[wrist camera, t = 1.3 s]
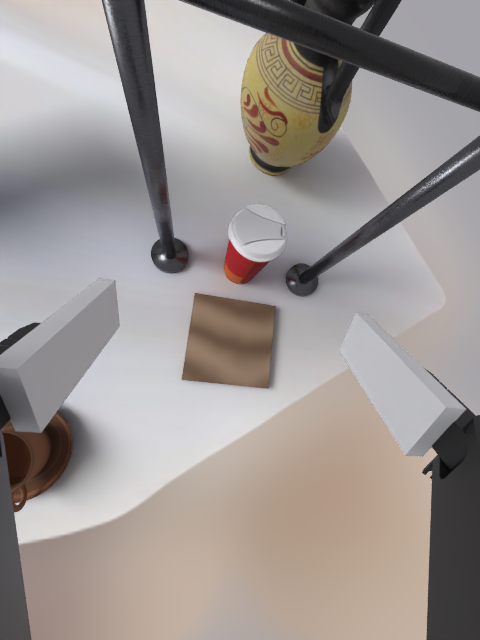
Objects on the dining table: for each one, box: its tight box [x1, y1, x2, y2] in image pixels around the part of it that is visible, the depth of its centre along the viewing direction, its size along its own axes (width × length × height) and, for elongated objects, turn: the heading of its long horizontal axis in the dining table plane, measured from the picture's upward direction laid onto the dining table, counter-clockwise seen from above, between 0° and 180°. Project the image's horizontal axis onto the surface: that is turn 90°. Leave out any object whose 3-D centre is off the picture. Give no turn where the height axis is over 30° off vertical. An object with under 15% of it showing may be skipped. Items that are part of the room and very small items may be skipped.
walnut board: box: [182, 293, 275, 388], centre depth 41 cm, size 14×14×1 cm
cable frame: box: [102, 0, 480, 296], centre depth 28 cm, size 30×6×33 cm, turn 83°
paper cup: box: [224, 204, 287, 284], centre depth 37 cm, size 8×8×14 cm
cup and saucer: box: [0, 412, 73, 512], centre depth 31 cm, size 12×12×6 cm
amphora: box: [241, 0, 401, 175], centre depth 35 cm, size 18×17×30 cm
